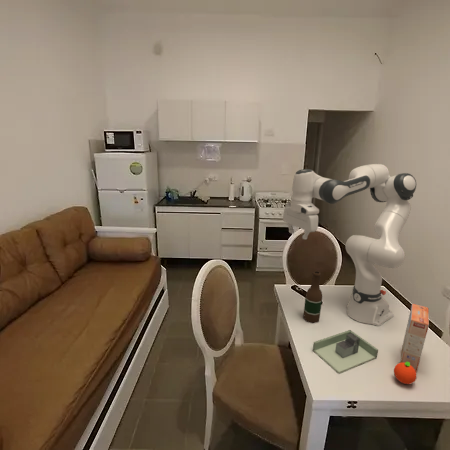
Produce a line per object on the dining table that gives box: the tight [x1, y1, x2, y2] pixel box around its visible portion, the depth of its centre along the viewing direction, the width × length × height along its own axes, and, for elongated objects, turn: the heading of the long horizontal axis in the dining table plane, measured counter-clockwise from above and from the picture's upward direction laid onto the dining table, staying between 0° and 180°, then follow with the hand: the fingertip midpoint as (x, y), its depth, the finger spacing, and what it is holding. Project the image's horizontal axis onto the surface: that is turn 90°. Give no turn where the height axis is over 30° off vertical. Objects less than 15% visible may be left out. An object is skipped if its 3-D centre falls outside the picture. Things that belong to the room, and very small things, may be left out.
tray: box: [312, 329, 379, 375], centre depth 123 cm, size 20×14×4 cm
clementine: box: [393, 362, 417, 385], centre depth 110 cm, size 8×7×7 cm
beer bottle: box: [303, 270, 323, 324], centre depth 144 cm, size 8×8×24 cm
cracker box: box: [399, 303, 430, 374], centre depth 119 cm, size 14×6×21 cm, turn 148°
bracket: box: [335, 333, 360, 358], centre depth 123 cm, size 8×4×6 cm, turn 116°
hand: (297, 235), depth 142 cm, fingers open, 8 cm apart
